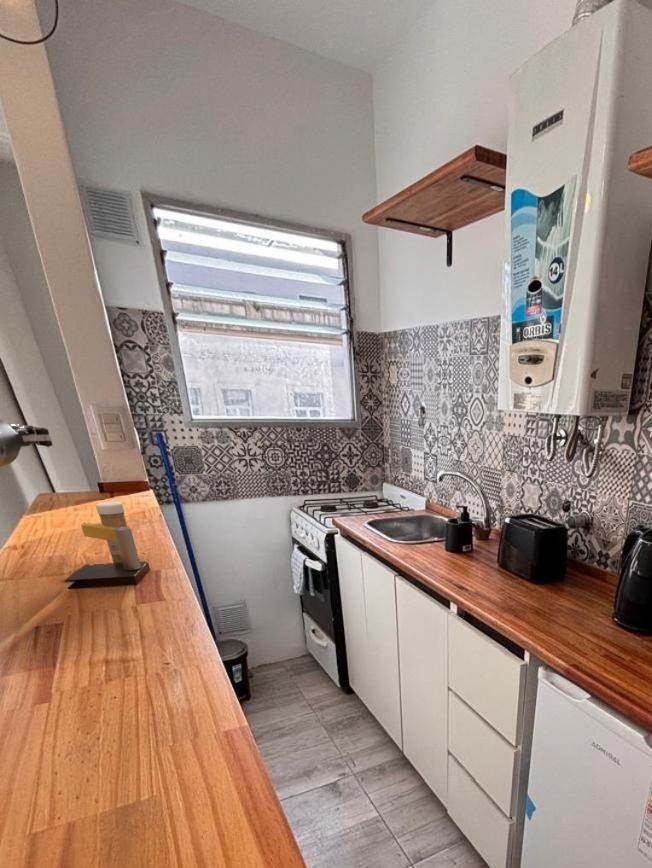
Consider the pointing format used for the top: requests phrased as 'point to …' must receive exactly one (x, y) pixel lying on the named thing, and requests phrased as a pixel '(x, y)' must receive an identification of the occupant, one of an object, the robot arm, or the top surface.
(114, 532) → the gas tap
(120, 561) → the sprinkles bottle
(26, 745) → the top surface
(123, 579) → the stove plate
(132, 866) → the top surface
